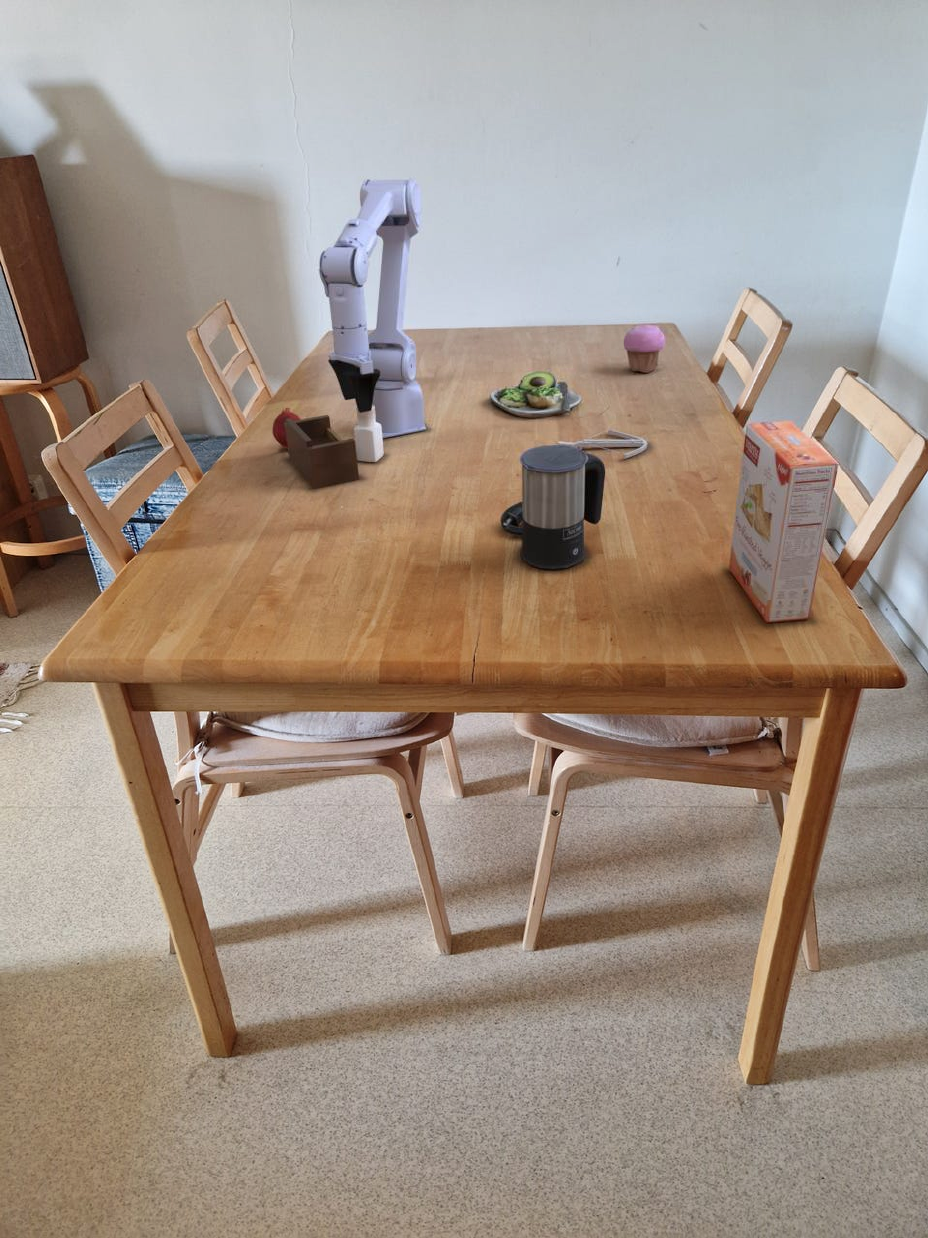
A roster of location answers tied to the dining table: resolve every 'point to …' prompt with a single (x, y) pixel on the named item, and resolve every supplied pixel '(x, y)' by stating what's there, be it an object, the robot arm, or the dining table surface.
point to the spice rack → (321, 452)
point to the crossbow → (612, 443)
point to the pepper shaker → (368, 437)
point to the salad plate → (536, 397)
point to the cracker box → (781, 519)
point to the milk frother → (556, 504)
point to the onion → (283, 426)
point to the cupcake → (644, 347)
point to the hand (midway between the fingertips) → (357, 404)
